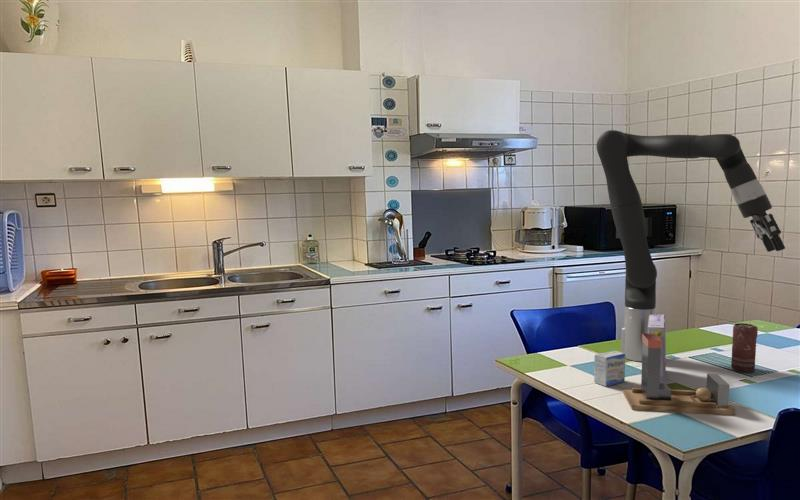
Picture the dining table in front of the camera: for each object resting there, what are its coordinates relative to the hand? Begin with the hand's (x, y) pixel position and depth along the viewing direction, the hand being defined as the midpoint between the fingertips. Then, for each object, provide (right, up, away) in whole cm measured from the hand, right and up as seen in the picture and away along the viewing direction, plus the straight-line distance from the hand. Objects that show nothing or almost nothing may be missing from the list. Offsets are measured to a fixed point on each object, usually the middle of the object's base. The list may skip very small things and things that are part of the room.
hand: (776, 250), depth 157 cm
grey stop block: (-25, -39, -14) cm, 49 cm away
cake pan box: (-31, -38, +7) cm, 50 cm away
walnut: (-28, -39, -14) cm, 50 cm away
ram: (-40, -38, -12) cm, 56 cm away
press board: (-35, -40, -12) cm, 54 cm away
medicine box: (-46, -39, +4) cm, 60 cm away
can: (-2, -37, +12) cm, 39 cm away
